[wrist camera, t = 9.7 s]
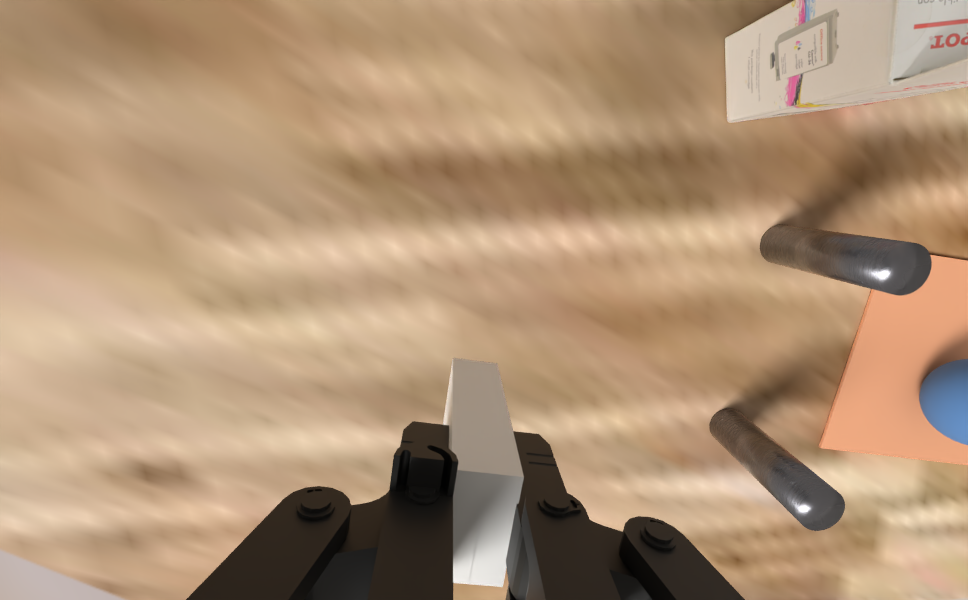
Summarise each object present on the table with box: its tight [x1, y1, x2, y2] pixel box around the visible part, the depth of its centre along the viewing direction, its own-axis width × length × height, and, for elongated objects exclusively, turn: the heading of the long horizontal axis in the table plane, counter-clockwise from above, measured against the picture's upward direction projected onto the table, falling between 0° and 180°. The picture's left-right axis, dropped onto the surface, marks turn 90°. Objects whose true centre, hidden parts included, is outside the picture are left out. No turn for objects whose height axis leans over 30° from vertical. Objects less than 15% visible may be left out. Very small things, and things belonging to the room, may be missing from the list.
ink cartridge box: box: [725, 0, 968, 123], centre depth 22 cm, size 9×5×15 cm, turn 97°
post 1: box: [710, 408, 845, 531], centre depth 29 cm, size 2×2×9 cm
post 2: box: [760, 225, 932, 296], centre depth 27 cm, size 2×2×9 cm
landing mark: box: [819, 255, 968, 465], centre depth 34 cm, size 14×14×1 cm
